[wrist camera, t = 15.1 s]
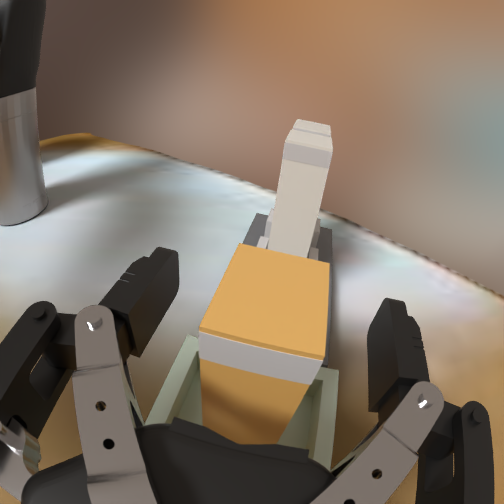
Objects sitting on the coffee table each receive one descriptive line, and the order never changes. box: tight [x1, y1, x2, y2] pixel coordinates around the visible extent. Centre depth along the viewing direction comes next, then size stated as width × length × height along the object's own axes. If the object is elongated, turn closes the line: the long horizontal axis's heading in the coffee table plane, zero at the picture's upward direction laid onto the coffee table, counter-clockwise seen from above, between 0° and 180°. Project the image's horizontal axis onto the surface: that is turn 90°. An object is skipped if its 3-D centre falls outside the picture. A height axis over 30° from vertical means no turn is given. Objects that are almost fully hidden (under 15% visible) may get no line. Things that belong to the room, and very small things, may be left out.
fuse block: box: [242, 208, 332, 368], centre depth 28 cm, size 9×19×4 cm, turn 167°
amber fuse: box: [198, 243, 330, 444], centre depth 12 cm, size 3×4×12 cm
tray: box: [145, 335, 339, 471], centre depth 15 cm, size 10×10×3 cm
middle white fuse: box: [268, 129, 333, 258], centre depth 24 cm, size 3×4×12 cm
